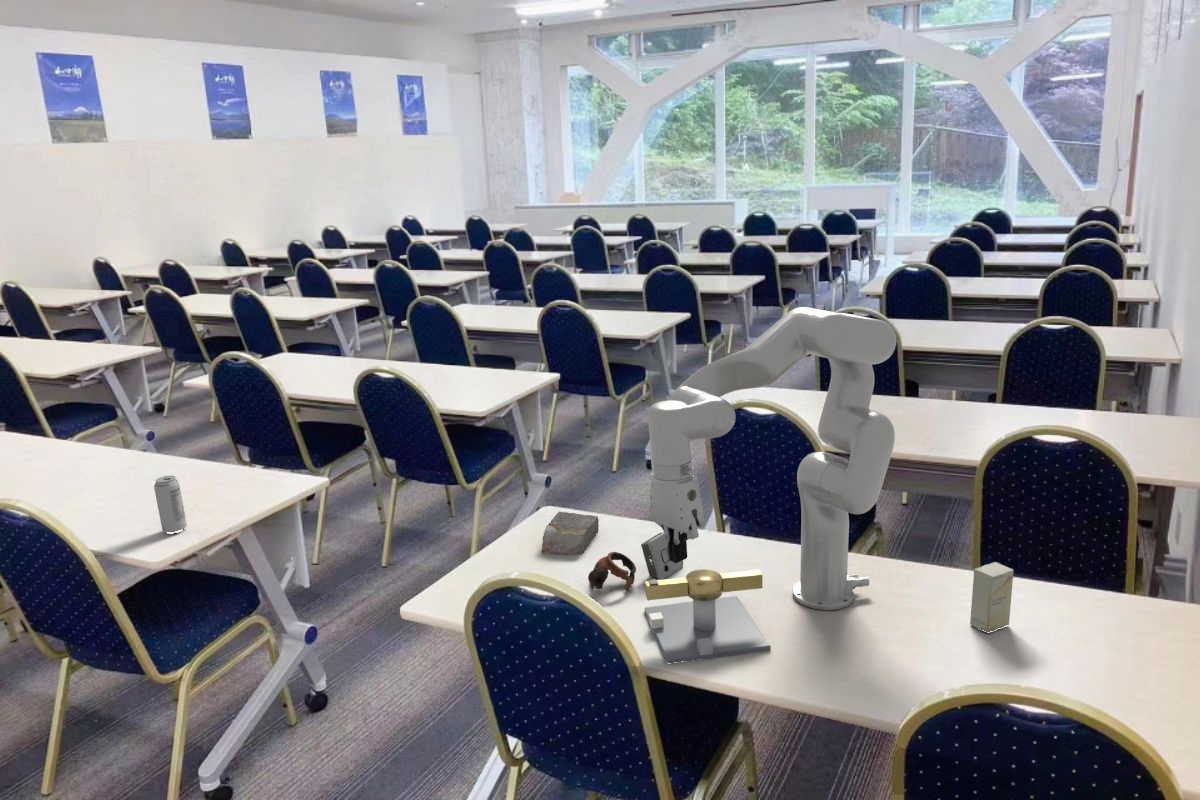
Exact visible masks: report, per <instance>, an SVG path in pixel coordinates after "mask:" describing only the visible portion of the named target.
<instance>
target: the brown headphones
mask: <svg viewBox="0 0 1200 800" xmlns="http://www.w3.org/2000/svg"><path fill="white" fill-rule="evenodd" d="M614 561H621V562H622V567H626V568H627V569H628V570H629V571H628V570H626V569H623V568H621V567H620V566H618V565H617V564H615V562H614ZM609 571H610V574H611V575H613V576H615V577H617V578H620V580H624V581H625V586H624V590H625V591H629V590H630V589H631V587H632V585H634V583H635V579H636V577H635V573H637V566H636V565H635V563H634V561H632V560H631V558H629V557H628V556H626V555H625V554H623V553H622V552H621V553H620V552H617V551H612V552H609V553H608V554H607V556H603V557H602V558H599V559H598V561H597V562H596V563H595V565H594V567H593V569H592V570H591V571H590V572H589V574H588V576H587V579H588V582H589V585H590V587H591V589H596V590H602V589H603V586H604V584H605V582H606V580H607V579H608V577H609Z"/></svg>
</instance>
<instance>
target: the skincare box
mask: <svg viewBox="0 0 1200 800" xmlns="http://www.w3.org/2000/svg"><path fill="white" fill-rule="evenodd" d="M972 580H973V582H972V595H971V607H970V608H971V610H970V618H969V619H970V622H969V625H970V624H971V625H973V626H975V627H977V628H979V629H981V630H984V631H986V632H990V631H994V630H996V629H998V628H1002V627H1004V626H1006V625H1009V626H1010V616H1011V606H1012V605H1011V604H1012V593H1013V583H1014V582H1013V581H1014V568H1011V567H1008V566H1006V565H1003V564H1001V563H999V562H997V561H994V562H991V563H988V564H984V565H982V566H978V567H976V568H974V569H973V579H972ZM971 625H970V626H971ZM973 626H972V627H973ZM975 627H974V628H975ZM977 628H976V629H977ZM979 629H978V630H979Z"/></svg>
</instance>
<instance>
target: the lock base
mask: <svg viewBox="0 0 1200 800" xmlns="http://www.w3.org/2000/svg"><path fill="white" fill-rule="evenodd" d="M644 614H645V616H646V618H647V620H648V623H649V625H650V627H651V629H652V632H653V631H654V632H653V634H654V636H655V638H656V641H657V640H658V641H657V642H659V643H658V645H659V647H660V650H661V651H663V652H662V654H663V653H664V654H663V656H664V655H665V656H664V658H665V661H666V660H667V661H666V663H667V662H668V663H673V664H675V663H674V662H680V663H682V662H681V661H687V662H693V661H692V660H694V661H700V660H699V659H702V660H707V659H715V658H716V659H717V658H722V657H729V656H731V657H732V656H736V655H737V656H739V655H744V654H752V653H759V652H766V650H767V651H771V649H772V647H771V644H770V642H769V641H768V639H767V637H766V636H764V633H763V632H762V631H761V629H760V628H759V626H758V625H757V623H756V622H755V620H754V619H753V617H752V616H751V614H750V613H749V612H748V610H747V608H746V607H745V606H744V604H743V603H742V601H741V600H740V598H739V597H738V595H733V596H725V597H719V598H717V599H715V600H711V601H698V600H694V599H692V601H686V602H680V603H679V602H678V603H670V604H662V605H655V606H654V605H653V606H648V607H647V606H646V607H644ZM714 657H715V658H714ZM668 663H667V664H668Z"/></svg>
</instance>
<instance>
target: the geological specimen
mask: <svg viewBox="0 0 1200 800" xmlns="http://www.w3.org/2000/svg"><path fill="white" fill-rule="evenodd" d="M599 519H600V518H599V516H596V515H592V514H580V513H576V512H567V511H558V512H557V513H556V514H555V516H553V518H552V519H551V520H550V522H549V523H548V524H546V526H545V529H544V531H543V536H542V542H541V543H542V544H541V553H544V554H550V555H551V554H553V555H554V554H556V555H557V556H559V555H564V556H565V555H566V556H568V554H569V555H576V554H577V555H580V554H584V553H585V552H586V550H587V549H588V548H589V547H590V545H591V544H592V542H593V541H594V540H593V538H594V537H595V536H596V537H597V535H598V534H599V530H600V529H599V526H600V525H599ZM597 533H598V534H597ZM596 534H597V535H596ZM596 537H595V538H596ZM595 538H594V539H595ZM592 540H593V541H592ZM591 541H592V542H591ZM590 543H591V544H590ZM589 544H590V545H589ZM587 547H588V548H587Z"/></svg>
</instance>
